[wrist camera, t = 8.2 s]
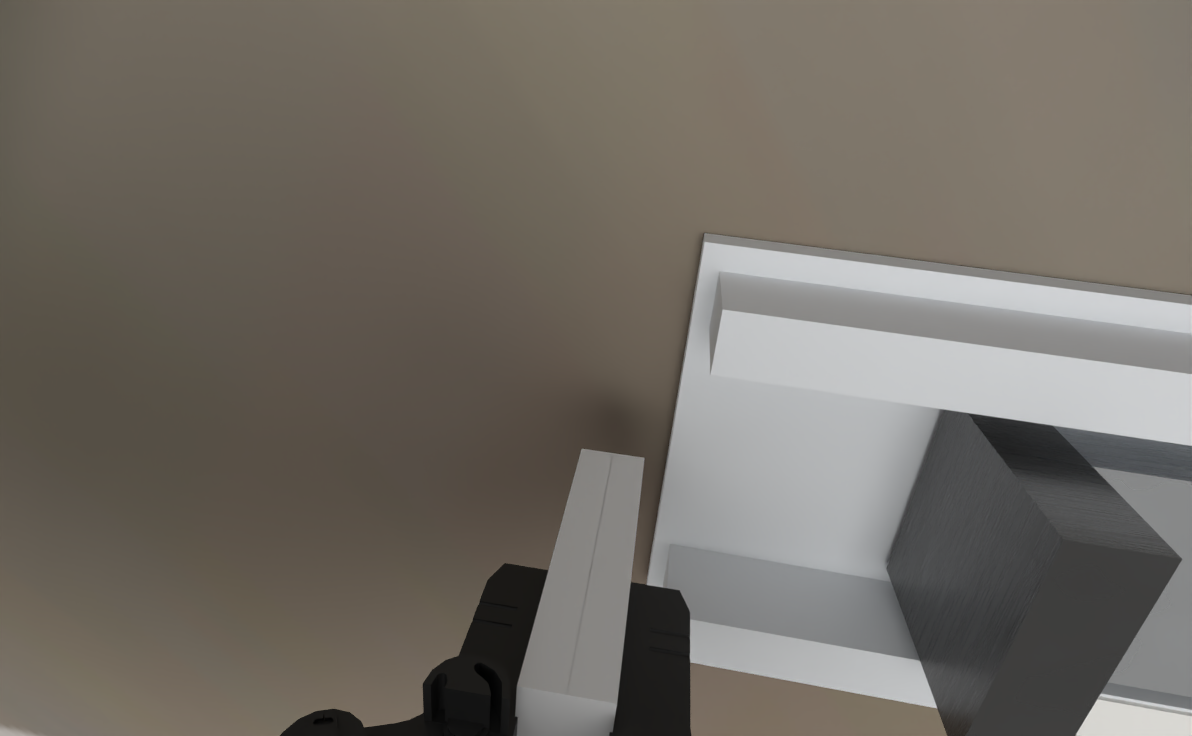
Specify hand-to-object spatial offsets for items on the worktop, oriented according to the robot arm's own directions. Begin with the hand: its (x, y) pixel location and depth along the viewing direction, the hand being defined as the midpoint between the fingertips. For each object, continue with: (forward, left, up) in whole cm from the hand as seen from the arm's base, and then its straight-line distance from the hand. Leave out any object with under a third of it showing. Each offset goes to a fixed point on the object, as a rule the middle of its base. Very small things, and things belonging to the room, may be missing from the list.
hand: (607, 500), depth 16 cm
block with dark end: (+15, -2, -4) cm, 15 cm away
